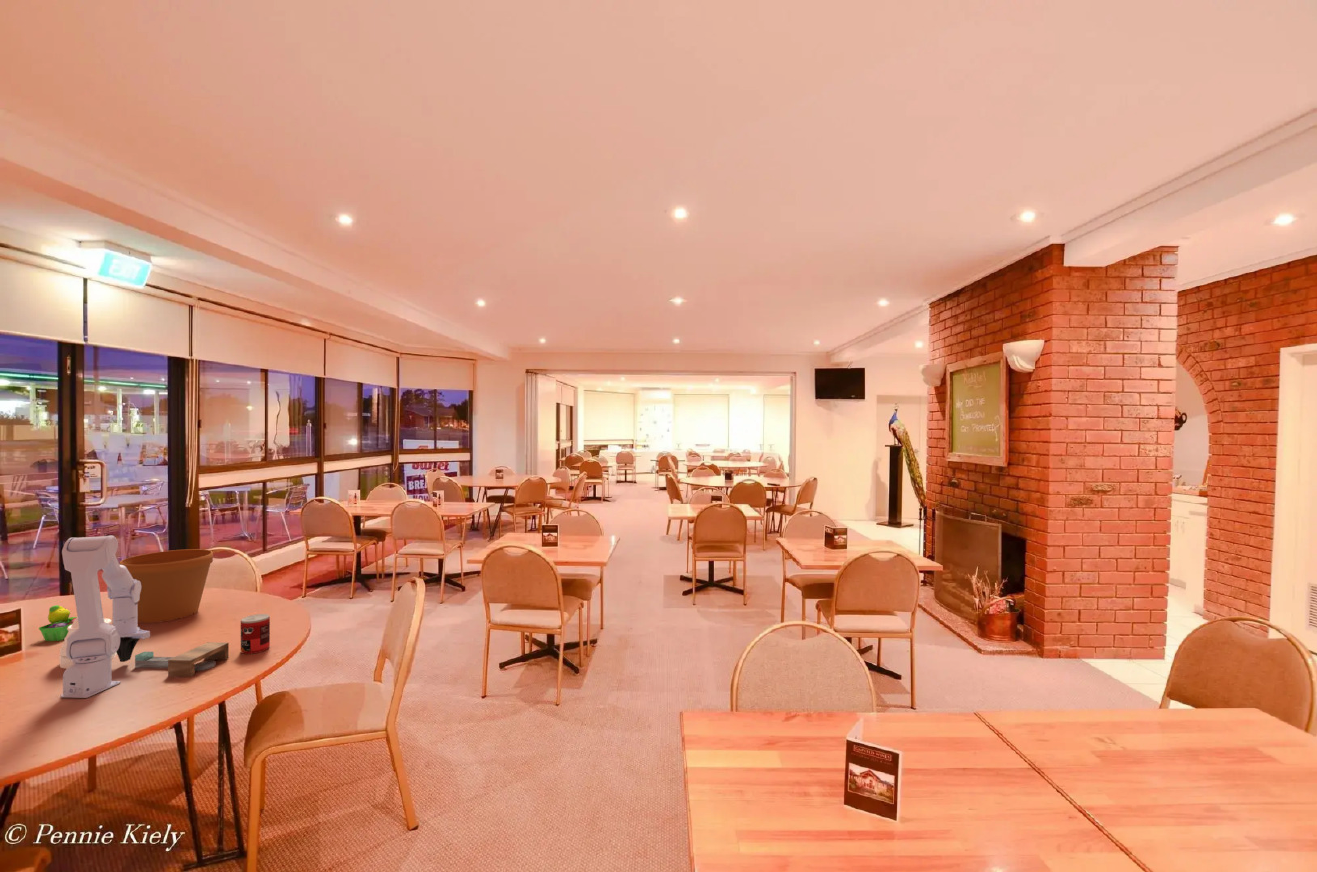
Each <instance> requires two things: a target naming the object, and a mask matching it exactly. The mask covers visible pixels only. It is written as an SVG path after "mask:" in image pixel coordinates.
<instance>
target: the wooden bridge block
mask: <svg viewBox="0 0 1317 872" xmlns="http://www.w3.org/2000/svg"><path fill="white" fill-rule="evenodd" d="M229 646H230V645H229V642H217V641H216V642H214V641H212V642H210V641H209V642H206V643H204V644H201V645H199V646H197V647H194V648H192V649H189V650H187V651H185V652H183V653H181V654H178V655H176V656H173V657H174V658H171V659H169V660H168V668H167V677H171V678H172V677H173V678H174V677H175V678H176V677H181V678H191V677H193V676H195V671H194V665H195V664H197V663H199V661H200V662H201V660H222V661H223V660H227V659H229V657H230V656H229V651H230V650H229Z"/></svg>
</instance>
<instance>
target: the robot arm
mask: <svg viewBox="0 0 1317 872" xmlns="http://www.w3.org/2000/svg"><path fill="white" fill-rule="evenodd" d="M118 547H119V542H118V539H117V538H116V536H115V535H104V536H101V535H100V536H88V537H87V536H85V537H84V536H82V537H74V536H73V537H69V538H68V539H67V540H66V541H65V542H64V545H63V547H62V550H61V555H62V563H63V565H64V570H65V571H67V572H69V573H70V574H71V575H70V577H71V581H72V588H73V595H74V602H75V603H74V604H75V608H76V617H77V616H78V623H79V628H78V629H76V630H75V631H73V632H72V633H71V634H70V635H69V637H68V638H67V647H66V655H67V657H68V658H69V659H70V660H72V663H75V664H74V665H73V666H71V667H69V668H68V669H66V668H65V670H64V672H63V675H62V694H61V695H60V698H74V699H80V698H81V699H86V698H90V697H92V696H94V695H96V694H99V693H101V692H103V691H106V690H108V689H110V688H112V687H115V686H116V685H118V684H121V681H119V680H112V677H113V676H112V674H113V673H112V672H113V671H112V659H111V655H113V654H115V652H117V655H116V656H117V657H118V660H119V662H120V663H124V662H127V661H130V660H131V658H132V655H133V653H134V649H135V648H136V645H137V643H138V642H139V641H140V639H141V640H145V639H148V638H150V637H151V631H150V630H144V629H141V628H140V627H139V626H138V620H137V616H138V615H137V602H138V601H139V599H140V592H141V582H140V581H137V580H136V579H133V578H132V576H131V574H130V573H129V571H128V569H127V568H126V567H125V566H124V565H120V562H119V560H118V558H117V556H116V554H117V551H118V549H119V548H118ZM101 570H102V571H103V572H102V573H101V578H102V580H103V581H104V583H105V584H106V591H107V598H108V599H110V600H111V601H112V603H111V604H112V605H111V607H112V617H111V618H112V619H111V623H112V624H111V623H110V624H108V623H106V622H104V612H103V611H104V610H103V604H102V598H101V597H102V595H101V590H100V582H99V575H98V572H99V571H101Z"/></svg>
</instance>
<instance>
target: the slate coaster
mask: <svg viewBox="0 0 1317 872" xmlns="http://www.w3.org/2000/svg"><path fill="white" fill-rule="evenodd" d="M215 666H216V661H215V660H204V661H200V662H196V663H194V672H200V671H206V670H210V669H212V668H214V667H215Z"/></svg>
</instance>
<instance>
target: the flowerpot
mask: <svg viewBox="0 0 1317 872" xmlns="http://www.w3.org/2000/svg"><path fill="white" fill-rule="evenodd" d="M213 561H214V552H213V551H212V550H210V549H204V548H195V549H194V548H191V549H189V548H188V549H176V550H175V549H174V550H163V551H157V552H150V553H143V554H139V555H134V556H129V557H126V558H124V559H121V560H120V561H119V565H124V566H125V567H126V568H127V569H128V571H129V573H130V574H131V576H132V578H133V579H136V580H137V581H140V582H141V592H140V599H139V601H138V602H137V615H138V616H137V620H138V621H139V623H141V622H144V624H152V623H151V622H156V623H161V622H160V621H164V622H169V620H170V621H175V620H179V619H178V618H180V619H182V618H181V617H184V618H186V617H190V616H192V615H194V614H197V613H198V611H199V608H200V605H201V601H202V597H203V593H204V589H205V585H206V582H207V577H208V575H209V574H208V573H209V571H210V566H211V564H212V563H213ZM193 613H194V614H193ZM189 615H190V616H189ZM174 619H175V620H174ZM147 622H148V623H147Z"/></svg>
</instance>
